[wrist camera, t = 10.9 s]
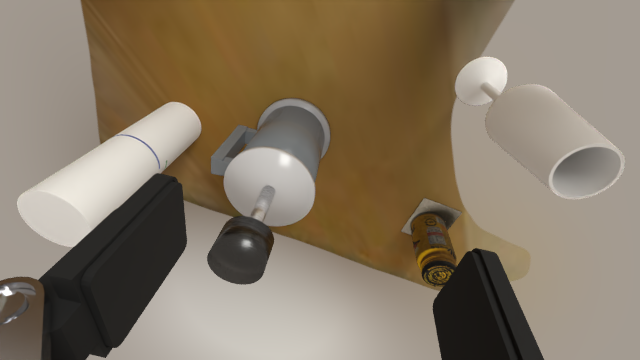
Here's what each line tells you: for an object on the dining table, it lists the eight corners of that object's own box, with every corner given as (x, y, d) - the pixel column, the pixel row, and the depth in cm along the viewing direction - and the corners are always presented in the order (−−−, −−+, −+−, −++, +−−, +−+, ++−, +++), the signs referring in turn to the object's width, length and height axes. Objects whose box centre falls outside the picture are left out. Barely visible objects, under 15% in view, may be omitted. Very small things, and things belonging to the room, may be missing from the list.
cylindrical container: (198, 104, 49) (76, 195, 28) (203, 144, 53) (100, 251, 32) (154, 99, 50) (3, 186, 29) (163, 139, 54) (36, 241, 33)
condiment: (400, 230, 58) (408, 282, 48) (424, 197, 54) (438, 247, 44) (435, 243, 59) (450, 296, 49) (461, 211, 54) (484, 263, 44)
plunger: (292, 178, 35) (266, 251, 25) (286, 212, 38) (261, 289, 28) (249, 168, 35) (207, 238, 25) (246, 202, 38) (207, 277, 28)
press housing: (338, 107, 47) (327, 160, 33) (322, 171, 53) (308, 237, 39) (249, 86, 47) (202, 130, 33) (244, 152, 53) (203, 212, 39)
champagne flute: (445, 80, 43) (516, 167, 23) (491, 44, 40) (621, 109, 20) (470, 115, 45) (556, 223, 25) (517, 84, 42) (656, 178, 22)
